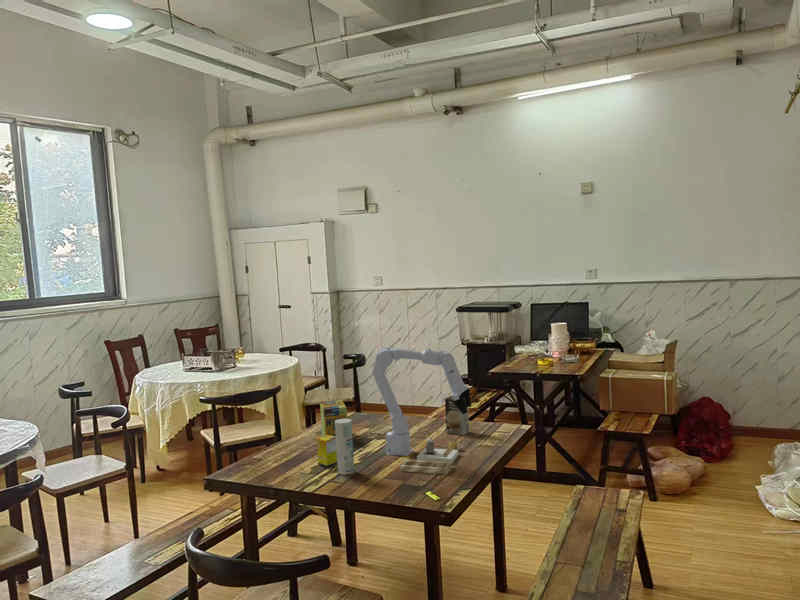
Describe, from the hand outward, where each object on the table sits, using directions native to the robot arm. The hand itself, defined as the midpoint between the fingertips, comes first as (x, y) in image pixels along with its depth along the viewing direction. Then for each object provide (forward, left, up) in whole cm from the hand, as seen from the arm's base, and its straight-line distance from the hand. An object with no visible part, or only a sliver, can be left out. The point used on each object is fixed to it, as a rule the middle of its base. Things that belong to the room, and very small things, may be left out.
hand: (467, 409), depth 255 cm
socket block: (-9, -14, -17) cm, 24 cm away
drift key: (-6, -8, -16) cm, 19 cm away
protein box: (-64, +7, -17) cm, 67 cm away
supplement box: (-51, -27, -17) cm, 61 cm away
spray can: (-40, -34, -17) cm, 56 cm away
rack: (-10, -27, -17) cm, 34 cm away
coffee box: (-10, +23, -17) cm, 30 cm away
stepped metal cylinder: (-12, -14, -16) cm, 25 cm away
